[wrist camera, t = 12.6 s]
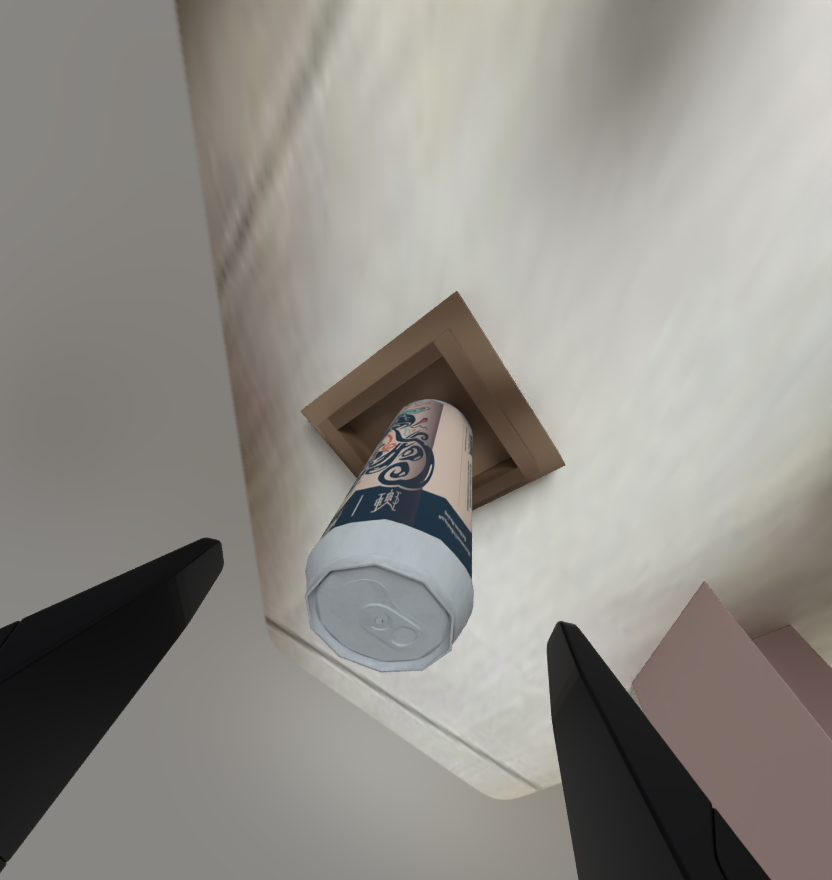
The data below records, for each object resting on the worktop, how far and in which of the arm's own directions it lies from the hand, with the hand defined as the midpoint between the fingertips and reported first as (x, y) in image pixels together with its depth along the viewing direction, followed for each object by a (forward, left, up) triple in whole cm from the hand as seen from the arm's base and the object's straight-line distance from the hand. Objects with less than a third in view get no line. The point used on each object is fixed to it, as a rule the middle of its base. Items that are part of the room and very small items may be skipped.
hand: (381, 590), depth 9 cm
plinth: (0, 0, -13) cm, 13 cm away
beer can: (0, 0, -12) cm, 12 cm away
